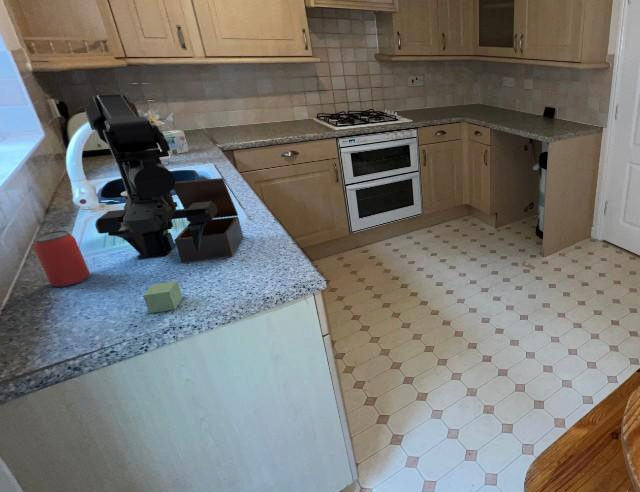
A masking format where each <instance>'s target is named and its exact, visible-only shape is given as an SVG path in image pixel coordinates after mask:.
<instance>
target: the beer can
mask: <svg viewBox="0 0 640 492" xmlns="http://www.w3.org/2000/svg"><path fill="white" fill-rule="evenodd" d="M33 241H34V242H33V250H34V252H35V254H36V256H37V258H38V260H39V262H40V265H41V267H42V269H43V271H44V273H45V275H46V278H47V279H48V282H49V284H50V285H51V286H53V287H57V288H58V287H59V288H61V287H68V286H72V285H76V284H79V283H81V282H84V281H85V280H87V279H88V278H89V276H90V275H91V272H90V270H89V268H88V265H87V263H86V261H85V259H84V256H83V254H82V251H81V249H80V247H79V245H78V242H77V240H76V238H75V237H74V236H73V235H72V234H71V233H70V230H69V231H68V230H63V229H62V230H54V231H53V230H52V231H49V232H44V233H42V234H39V235H37V236H35V237H34V238H33Z"/></svg>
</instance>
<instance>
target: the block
mask: <svg viewBox="0 0 640 492" xmlns="http://www.w3.org/2000/svg"><path fill="white" fill-rule="evenodd" d="M142 297H143V301H144V303H145V306H146V308H147V310H148V313H149V314H155V313H160V312H167V311H174V310H176V309H177V308H178V306H179V304H180V303H181V301H183V298H184V297H183V294H182V291H181V289H180V286H179V282H178V281H177V280H175V281H167V282H160V283H152V284H151V285H150V286H149V287H148V289H147V290H146V291H145V292H144V294H142Z"/></svg>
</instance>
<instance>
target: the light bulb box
mask: <svg viewBox="0 0 640 492" xmlns="http://www.w3.org/2000/svg"><path fill="white" fill-rule="evenodd" d="M162 133H163V135H164V137H165V139H166V141H167V143H168V145H169V148H170V151H168V153H169V154H170V155H171V156H173V155H179V154H184V153H189V152H190V149H189V146H188V142H187V138H186V135H185V131H183V130H177V129H174V130H173V129H172V130H167V131H162Z"/></svg>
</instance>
